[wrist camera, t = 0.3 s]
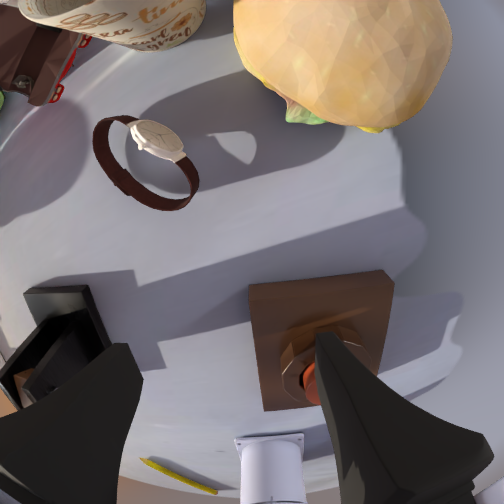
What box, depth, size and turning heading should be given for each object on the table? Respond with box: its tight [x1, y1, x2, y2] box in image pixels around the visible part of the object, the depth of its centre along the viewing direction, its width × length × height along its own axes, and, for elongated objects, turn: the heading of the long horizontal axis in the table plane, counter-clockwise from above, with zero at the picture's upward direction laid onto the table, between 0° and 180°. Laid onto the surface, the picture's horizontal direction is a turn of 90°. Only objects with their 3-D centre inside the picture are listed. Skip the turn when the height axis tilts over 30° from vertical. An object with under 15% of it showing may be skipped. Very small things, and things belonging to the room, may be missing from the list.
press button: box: [303, 361, 321, 405], centre depth 18 cm, size 4×4×2 cm
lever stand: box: [0, 285, 112, 411], centre depth 18 cm, size 10×8×10 cm
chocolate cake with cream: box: [92, 115, 199, 211], centre depth 15 cm, size 8×5×4 cm, turn 50°
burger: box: [233, 0, 453, 133], centre depth 10 cm, size 13×14×8 cm
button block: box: [249, 270, 394, 412], centre depth 20 cm, size 12×10×4 cm
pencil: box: [140, 458, 218, 495], centre depth 33 cm, size 16×1×1 cm
